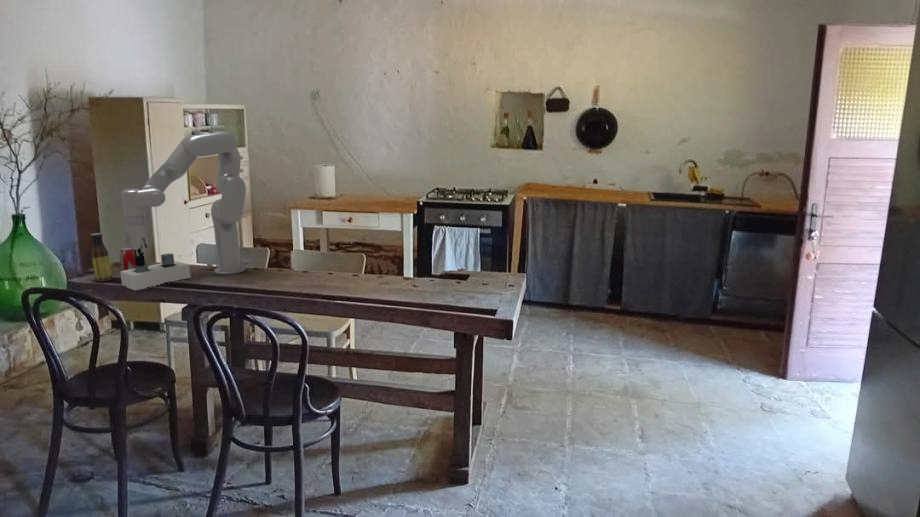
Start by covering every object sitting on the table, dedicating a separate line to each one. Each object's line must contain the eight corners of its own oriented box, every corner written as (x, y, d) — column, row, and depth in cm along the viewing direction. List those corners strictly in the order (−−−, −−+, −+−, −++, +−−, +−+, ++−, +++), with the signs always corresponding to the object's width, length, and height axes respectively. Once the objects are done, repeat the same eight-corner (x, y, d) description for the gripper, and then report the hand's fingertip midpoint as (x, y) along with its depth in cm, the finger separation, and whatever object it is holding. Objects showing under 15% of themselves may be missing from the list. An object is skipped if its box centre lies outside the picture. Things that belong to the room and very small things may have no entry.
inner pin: (171, 266, 281) (169, 253, 279) (177, 267, 278) (175, 254, 276) (160, 268, 277) (158, 255, 276) (165, 269, 274) (164, 256, 273)
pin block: (176, 274, 287) (175, 260, 285) (190, 278, 279) (189, 264, 278) (122, 285, 270) (120, 271, 268) (135, 290, 262) (133, 275, 261)
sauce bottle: (115, 278, 281) (109, 232, 277) (106, 282, 275) (100, 235, 271) (101, 278, 282) (94, 232, 277) (92, 282, 276) (85, 235, 271)
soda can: (135, 277, 282) (132, 249, 280) (119, 277, 283) (115, 250, 280) (143, 273, 289) (140, 246, 287) (127, 273, 290) (124, 246, 287)
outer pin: (146, 276, 273) (144, 263, 272) (151, 278, 270) (149, 264, 269) (134, 278, 269) (132, 265, 268) (139, 280, 266) (137, 267, 265)
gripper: (117, 219, 266) (122, 264, 270) (133, 223, 257) (139, 269, 261) (136, 217, 272) (141, 261, 276) (153, 221, 262) (158, 266, 266)
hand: (140, 265), depth 268 cm, fingers closed
